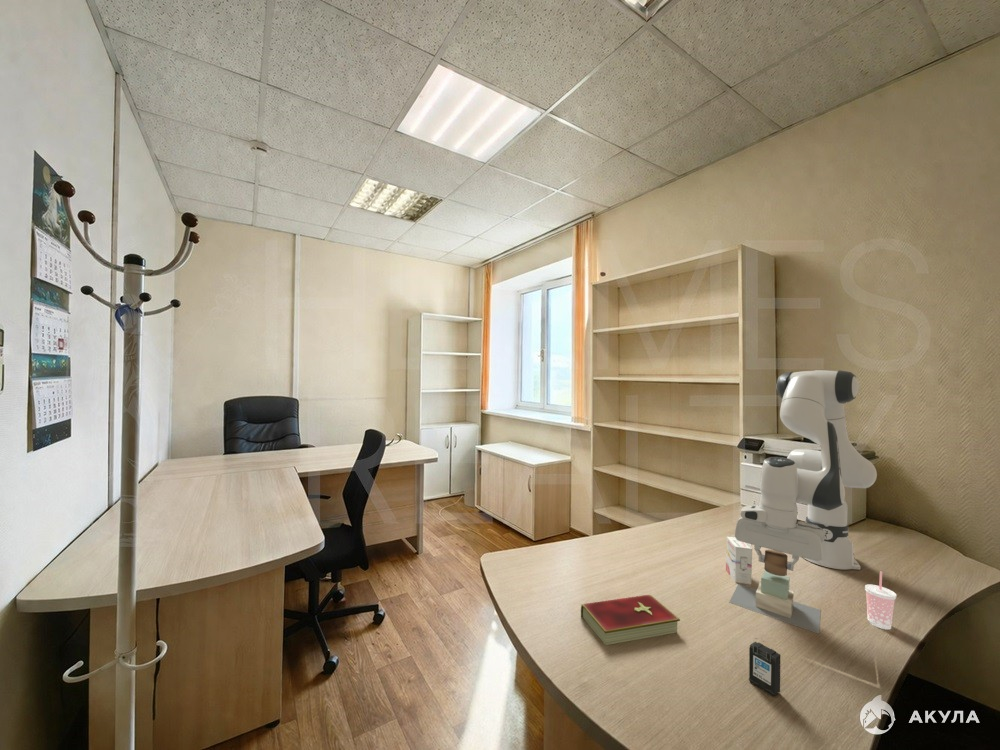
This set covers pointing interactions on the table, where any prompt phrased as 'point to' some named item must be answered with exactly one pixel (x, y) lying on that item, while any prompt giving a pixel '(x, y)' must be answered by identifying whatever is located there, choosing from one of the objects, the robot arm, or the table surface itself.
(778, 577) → the mint green block
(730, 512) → the table surface
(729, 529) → the table surface
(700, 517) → the table surface
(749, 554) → the ink cartridge box
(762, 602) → the base slab
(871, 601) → the beverage cup
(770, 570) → the brown rounded piece
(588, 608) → the hardcover book
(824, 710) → the table surface
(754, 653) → the ink cartridge
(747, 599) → the mat
